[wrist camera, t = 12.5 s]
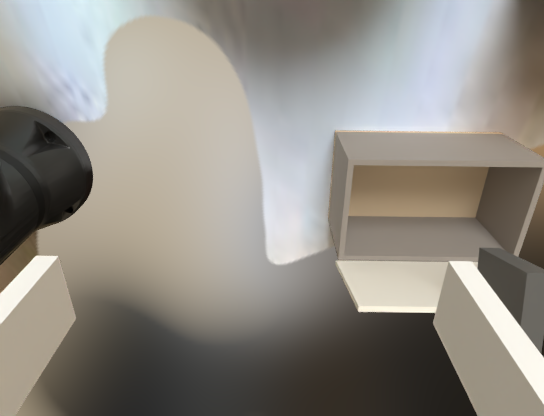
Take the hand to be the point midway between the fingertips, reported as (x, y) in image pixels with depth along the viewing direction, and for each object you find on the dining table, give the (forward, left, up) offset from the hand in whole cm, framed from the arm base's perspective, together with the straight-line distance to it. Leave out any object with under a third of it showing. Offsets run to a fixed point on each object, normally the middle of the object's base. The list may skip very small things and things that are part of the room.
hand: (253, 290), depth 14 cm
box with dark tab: (+18, -9, -19) cm, 28 cm away
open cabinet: (+18, -11, -37) cm, 42 cm away
